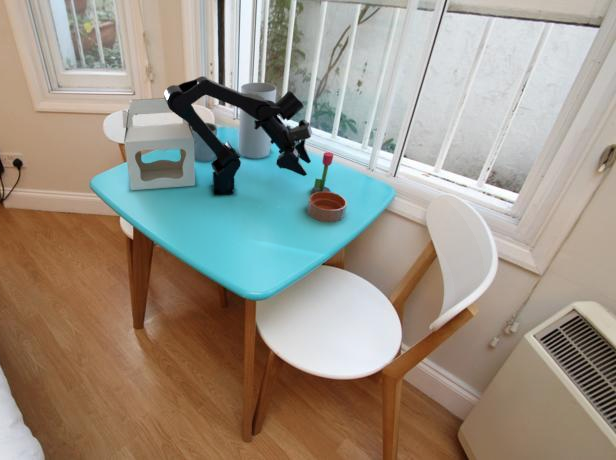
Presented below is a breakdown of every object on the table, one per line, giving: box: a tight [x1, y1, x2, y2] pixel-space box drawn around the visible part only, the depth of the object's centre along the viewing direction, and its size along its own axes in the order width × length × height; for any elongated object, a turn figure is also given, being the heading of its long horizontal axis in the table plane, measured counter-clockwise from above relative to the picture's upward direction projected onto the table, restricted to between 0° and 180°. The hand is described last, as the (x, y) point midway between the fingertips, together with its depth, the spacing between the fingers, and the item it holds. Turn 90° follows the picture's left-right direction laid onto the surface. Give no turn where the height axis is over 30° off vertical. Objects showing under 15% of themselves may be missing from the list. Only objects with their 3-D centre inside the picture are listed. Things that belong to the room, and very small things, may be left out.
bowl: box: [306, 191, 348, 223], centre depth 112 cm, size 11×11×4 cm
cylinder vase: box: [237, 82, 277, 160], centre depth 141 cm, size 12×12×25 cm
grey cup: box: [191, 122, 218, 163], centre depth 143 cm, size 10×10×12 cm
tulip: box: [311, 151, 334, 194], centre depth 118 cm, size 6×6×14 cm
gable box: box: [122, 97, 196, 191], centre depth 124 cm, size 22×13×28 cm, turn 96°
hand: (307, 168), depth 119 cm, fingers open, 9 cm apart
